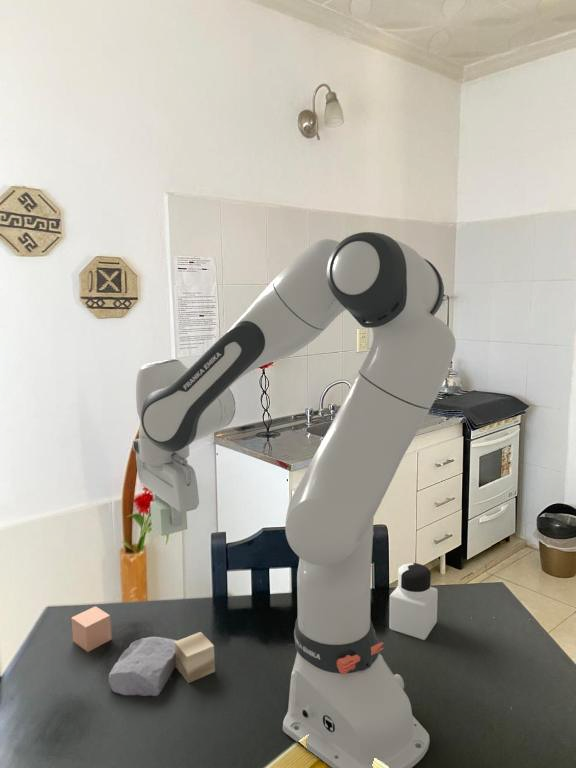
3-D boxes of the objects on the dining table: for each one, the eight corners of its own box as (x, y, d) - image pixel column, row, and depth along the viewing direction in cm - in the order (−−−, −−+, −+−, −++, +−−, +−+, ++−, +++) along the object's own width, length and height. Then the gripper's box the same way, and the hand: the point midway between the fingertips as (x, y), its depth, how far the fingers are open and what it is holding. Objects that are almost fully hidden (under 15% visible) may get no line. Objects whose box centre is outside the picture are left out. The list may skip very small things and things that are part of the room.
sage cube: (187, 529, 107) (186, 503, 106) (162, 536, 104) (160, 509, 104) (176, 520, 111) (175, 495, 110) (151, 527, 108) (150, 501, 108)
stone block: (106, 704, 95) (162, 699, 93) (99, 676, 94) (155, 671, 92) (137, 660, 106) (187, 655, 104) (131, 636, 106) (181, 630, 104)
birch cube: (215, 672, 99) (213, 645, 98) (188, 683, 96) (186, 656, 95) (201, 657, 103) (200, 631, 102) (175, 667, 100) (174, 641, 100)
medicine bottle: (437, 622, 112) (438, 564, 110) (425, 641, 106) (426, 580, 104) (402, 611, 116) (403, 556, 114) (388, 629, 110) (389, 571, 108)
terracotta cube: (111, 639, 109) (109, 615, 108) (87, 652, 105) (85, 627, 104) (97, 629, 112) (95, 606, 111) (73, 642, 108) (71, 617, 107)
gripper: (205, 457, 99) (209, 533, 101) (159, 434, 115) (164, 500, 118) (171, 464, 95) (176, 543, 97) (129, 439, 112) (134, 507, 114)
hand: (169, 519), depth 108 cm, fingers closed on sage cube, 5 cm apart
